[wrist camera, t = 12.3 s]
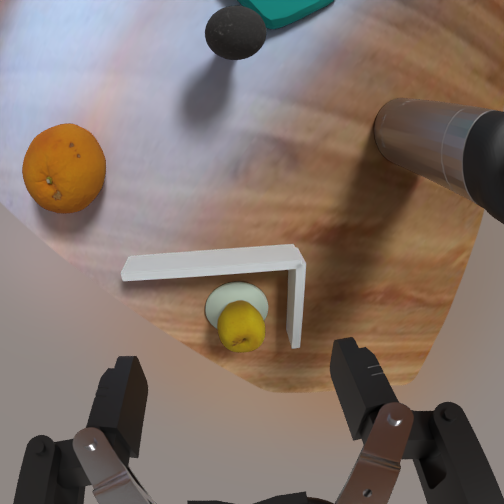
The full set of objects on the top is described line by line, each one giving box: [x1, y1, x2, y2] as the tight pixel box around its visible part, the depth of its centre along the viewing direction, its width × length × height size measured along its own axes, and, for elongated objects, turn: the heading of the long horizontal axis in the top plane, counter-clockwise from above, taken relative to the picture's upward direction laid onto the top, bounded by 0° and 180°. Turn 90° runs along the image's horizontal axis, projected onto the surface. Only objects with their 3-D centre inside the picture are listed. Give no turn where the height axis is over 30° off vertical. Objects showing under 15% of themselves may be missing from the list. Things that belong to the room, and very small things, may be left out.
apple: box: [217, 300, 265, 352], centre depth 42 cm, size 6×6×8 cm
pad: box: [206, 282, 268, 329], centre depth 46 cm, size 9×9×1 cm
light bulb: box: [205, 6, 266, 60], centre depth 26 cm, size 6×6×10 cm
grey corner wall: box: [121, 244, 306, 349], centre depth 43 cm, size 23×15×4 cm, turn 92°
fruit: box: [22, 124, 106, 213], centre depth 31 cm, size 10×10×8 cm
